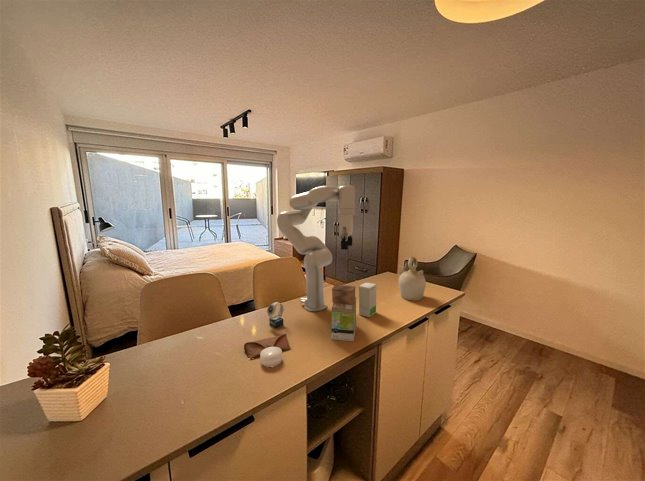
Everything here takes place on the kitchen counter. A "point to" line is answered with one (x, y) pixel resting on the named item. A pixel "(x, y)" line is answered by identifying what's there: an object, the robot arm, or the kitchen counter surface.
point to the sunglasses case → (266, 345)
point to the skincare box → (367, 299)
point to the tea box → (343, 321)
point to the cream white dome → (271, 356)
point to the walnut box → (343, 294)
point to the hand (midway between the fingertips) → (346, 247)
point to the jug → (412, 282)
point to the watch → (275, 320)
